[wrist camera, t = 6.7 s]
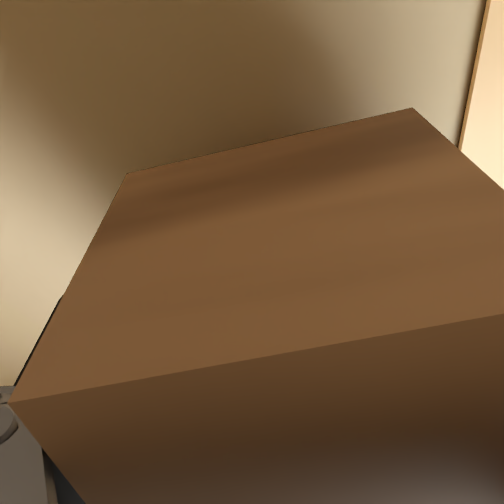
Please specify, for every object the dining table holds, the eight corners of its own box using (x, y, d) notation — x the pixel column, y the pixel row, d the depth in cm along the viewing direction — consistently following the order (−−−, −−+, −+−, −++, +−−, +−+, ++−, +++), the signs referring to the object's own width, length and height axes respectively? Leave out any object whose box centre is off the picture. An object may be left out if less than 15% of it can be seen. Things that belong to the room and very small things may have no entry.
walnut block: (127, 173, 10) (7, 403, 5) (412, 107, 9) (618, 293, 4) (205, 367, 13) (183, 628, 8) (421, 328, 12) (546, 584, 7)
